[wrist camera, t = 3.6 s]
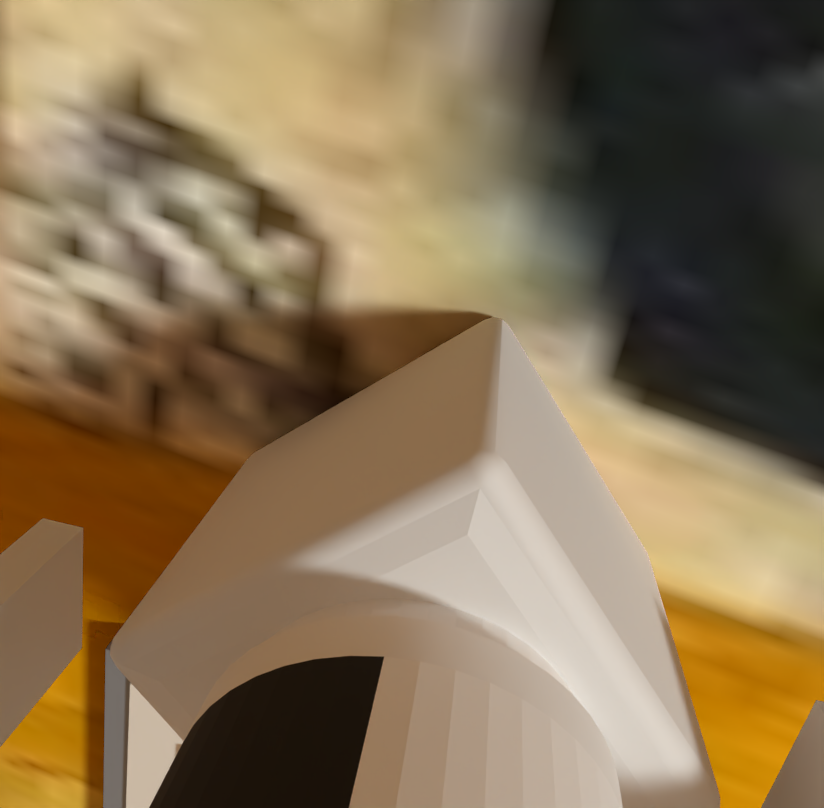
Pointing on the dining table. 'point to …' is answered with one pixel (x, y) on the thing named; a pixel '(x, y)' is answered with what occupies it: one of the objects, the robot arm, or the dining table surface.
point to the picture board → (133, 743)
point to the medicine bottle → (420, 614)
